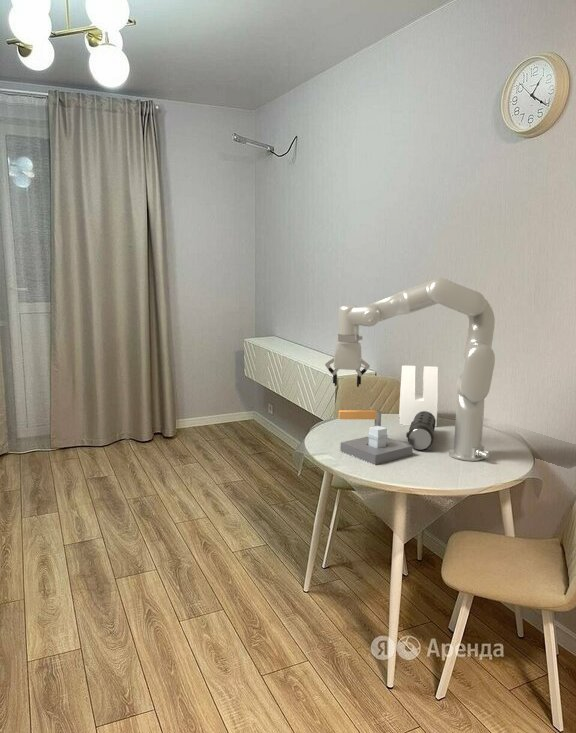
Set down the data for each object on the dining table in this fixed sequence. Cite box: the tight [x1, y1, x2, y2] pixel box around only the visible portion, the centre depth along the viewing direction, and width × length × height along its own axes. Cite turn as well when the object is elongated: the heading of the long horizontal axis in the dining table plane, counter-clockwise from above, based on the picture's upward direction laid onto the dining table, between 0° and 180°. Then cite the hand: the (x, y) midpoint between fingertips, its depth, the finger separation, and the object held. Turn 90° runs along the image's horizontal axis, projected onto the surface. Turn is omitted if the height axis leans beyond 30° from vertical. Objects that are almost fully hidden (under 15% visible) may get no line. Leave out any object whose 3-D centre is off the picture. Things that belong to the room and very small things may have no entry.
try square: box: [338, 409, 382, 427], centre depth 219 cm, size 16×2×10 cm, turn 93°
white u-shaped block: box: [398, 364, 439, 427], centre depth 256 cm, size 19×15×25 cm
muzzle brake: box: [405, 411, 437, 451], centre depth 226 cm, size 10×28×10 cm
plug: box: [367, 426, 389, 449], centre depth 209 cm, size 5×5×10 cm
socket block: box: [339, 436, 414, 466], centre depth 211 cm, size 18×19×4 cm
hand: (346, 385), depth 214 cm, fingers open, 7 cm apart
